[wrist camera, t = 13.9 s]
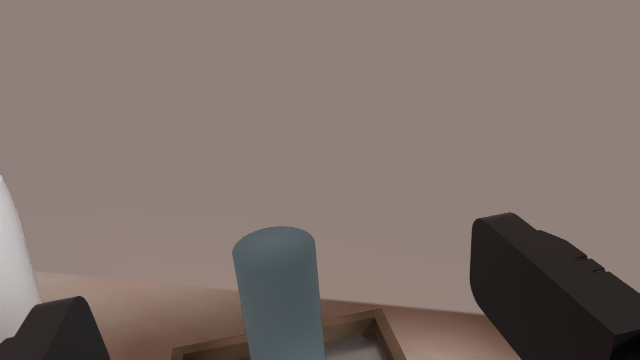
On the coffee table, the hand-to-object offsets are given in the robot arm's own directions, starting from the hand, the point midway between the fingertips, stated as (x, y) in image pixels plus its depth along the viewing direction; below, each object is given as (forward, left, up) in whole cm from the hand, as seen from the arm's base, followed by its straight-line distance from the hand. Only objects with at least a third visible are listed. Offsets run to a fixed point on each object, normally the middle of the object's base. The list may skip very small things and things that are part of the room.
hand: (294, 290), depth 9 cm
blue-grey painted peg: (0, -11, -21) cm, 24 cm away
